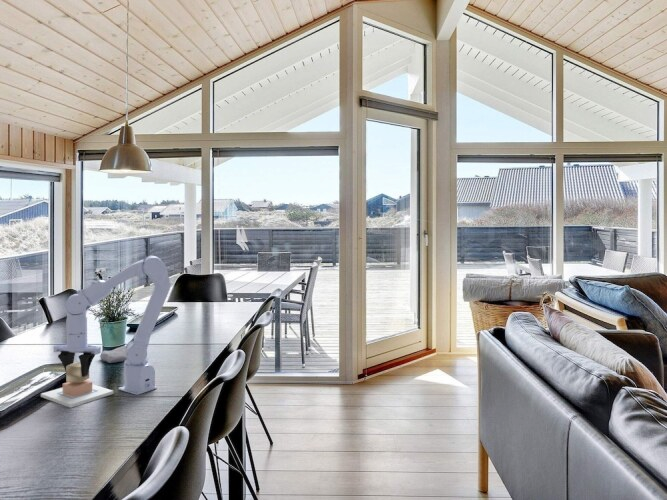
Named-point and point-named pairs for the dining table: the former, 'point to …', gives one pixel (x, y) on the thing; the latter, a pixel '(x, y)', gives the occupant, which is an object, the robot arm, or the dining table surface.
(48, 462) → the dining table surface
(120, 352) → the stone block
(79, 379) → the maple block
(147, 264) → the robot arm
